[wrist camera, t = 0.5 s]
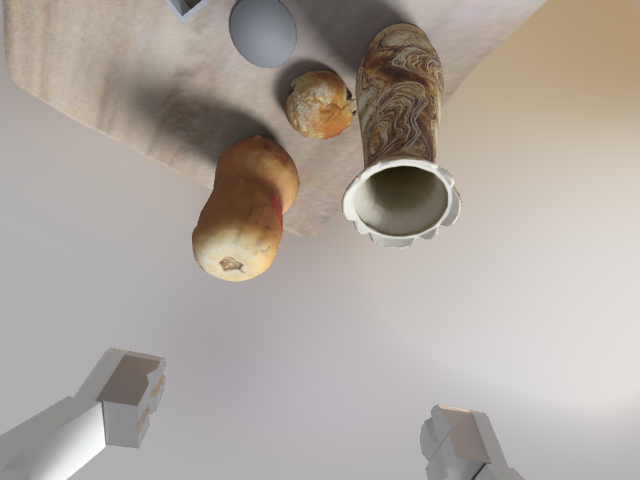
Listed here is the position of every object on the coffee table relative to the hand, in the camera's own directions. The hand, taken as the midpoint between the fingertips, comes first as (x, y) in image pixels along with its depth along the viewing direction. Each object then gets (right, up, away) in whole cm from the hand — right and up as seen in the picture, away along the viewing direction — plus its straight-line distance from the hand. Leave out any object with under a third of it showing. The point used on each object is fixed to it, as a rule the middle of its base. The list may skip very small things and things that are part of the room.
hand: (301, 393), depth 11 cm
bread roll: (+1, +26, +45) cm, 52 cm away
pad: (-7, +33, +39) cm, 51 cm away
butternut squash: (-9, +19, +54) cm, 58 cm away
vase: (+11, +29, +40) cm, 51 cm away
